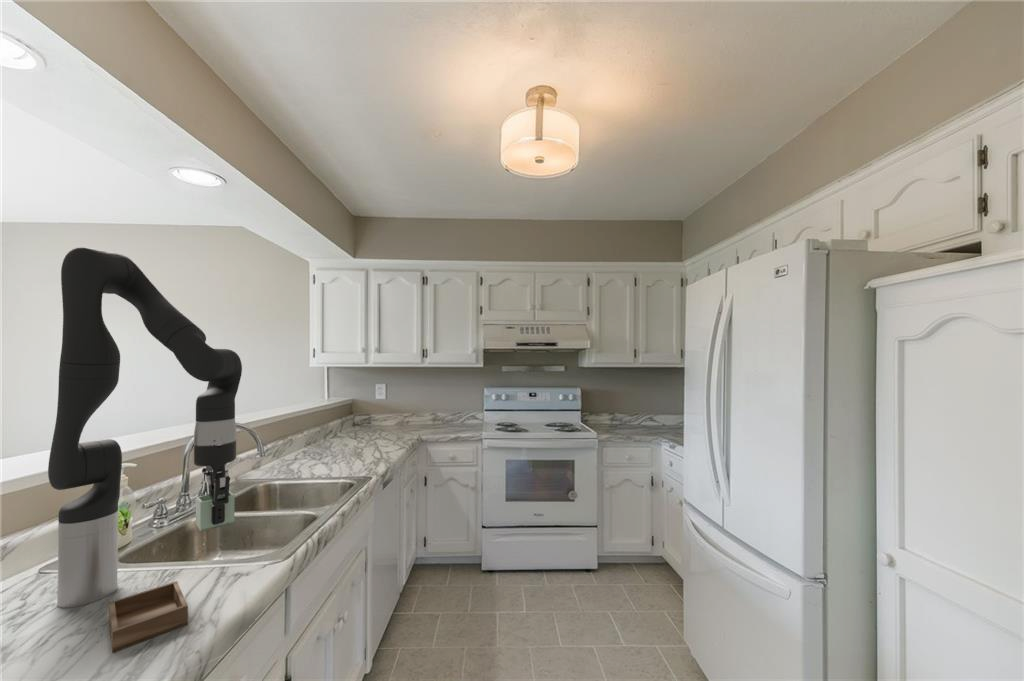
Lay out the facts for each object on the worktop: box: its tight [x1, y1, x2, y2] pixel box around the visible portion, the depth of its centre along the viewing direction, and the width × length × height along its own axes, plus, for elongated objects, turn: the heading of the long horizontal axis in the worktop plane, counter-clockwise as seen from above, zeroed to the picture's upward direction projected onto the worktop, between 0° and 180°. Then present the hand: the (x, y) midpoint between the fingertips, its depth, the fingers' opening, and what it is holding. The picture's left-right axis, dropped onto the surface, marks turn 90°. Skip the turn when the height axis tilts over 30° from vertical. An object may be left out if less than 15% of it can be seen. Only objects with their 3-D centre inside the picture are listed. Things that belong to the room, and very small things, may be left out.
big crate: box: [108, 580, 189, 654], centre depth 81 cm, size 13×10×4 cm
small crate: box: [195, 490, 236, 533], centre depth 91 cm, size 5×6×6 cm
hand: (215, 519), depth 91 cm, fingers closed on small crate, 5 cm apart
